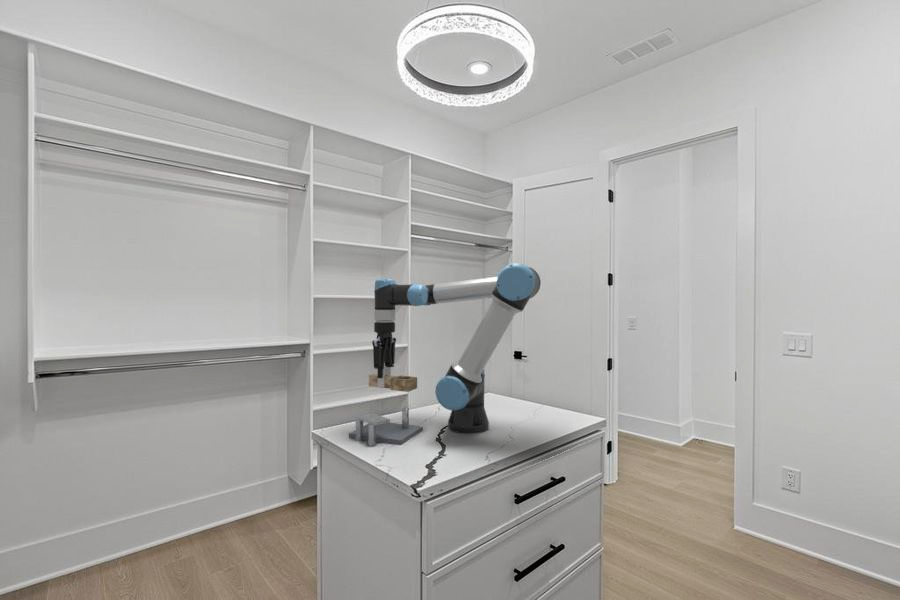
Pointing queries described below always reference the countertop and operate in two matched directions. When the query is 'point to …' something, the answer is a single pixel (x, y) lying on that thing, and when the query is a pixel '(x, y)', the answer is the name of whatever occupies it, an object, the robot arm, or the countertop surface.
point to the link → (395, 382)
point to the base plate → (390, 433)
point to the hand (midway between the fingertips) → (384, 385)
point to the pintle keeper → (377, 420)
